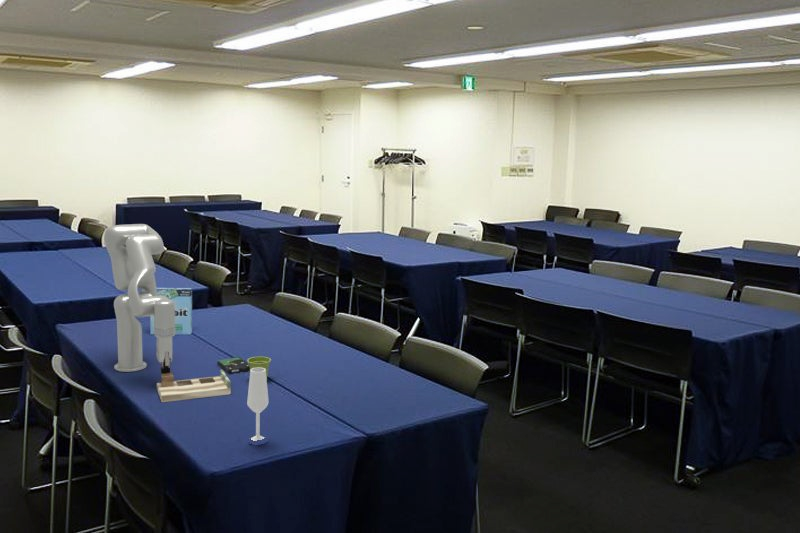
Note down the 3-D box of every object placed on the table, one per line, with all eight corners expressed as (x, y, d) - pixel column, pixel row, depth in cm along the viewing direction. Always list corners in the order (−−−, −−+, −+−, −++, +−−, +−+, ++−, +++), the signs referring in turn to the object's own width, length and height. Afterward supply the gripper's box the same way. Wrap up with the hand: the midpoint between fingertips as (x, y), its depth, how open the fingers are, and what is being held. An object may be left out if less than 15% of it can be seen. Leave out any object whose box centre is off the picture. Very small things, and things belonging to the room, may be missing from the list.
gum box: (150, 335, 333) (149, 289, 330) (152, 332, 338) (151, 287, 334) (191, 334, 337) (190, 289, 333) (192, 332, 342) (192, 287, 338)
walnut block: (161, 383, 259) (161, 373, 259) (172, 382, 261) (172, 372, 260) (162, 387, 256) (162, 377, 255) (173, 385, 257) (173, 375, 257)
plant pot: (242, 382, 272) (242, 361, 271) (255, 375, 281) (255, 355, 279) (262, 385, 269) (262, 364, 268) (275, 378, 278) (275, 358, 276)
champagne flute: (242, 443, 216) (242, 371, 212) (254, 435, 222) (254, 365, 218) (261, 447, 214) (261, 374, 210) (272, 439, 220) (272, 368, 216)
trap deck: (156, 389, 261) (156, 376, 260) (222, 381, 271) (222, 369, 271) (161, 402, 247) (161, 389, 246) (230, 394, 258) (230, 381, 257)
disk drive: (252, 372, 286) (239, 362, 298) (252, 366, 286) (239, 356, 298) (228, 376, 280) (216, 365, 292) (228, 369, 280) (216, 359, 292)
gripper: (152, 327, 265) (153, 372, 268) (156, 337, 252) (157, 384, 255) (172, 326, 268) (173, 370, 271) (177, 335, 255) (178, 382, 258)
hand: (165, 377), depth 263 cm, fingers closed
